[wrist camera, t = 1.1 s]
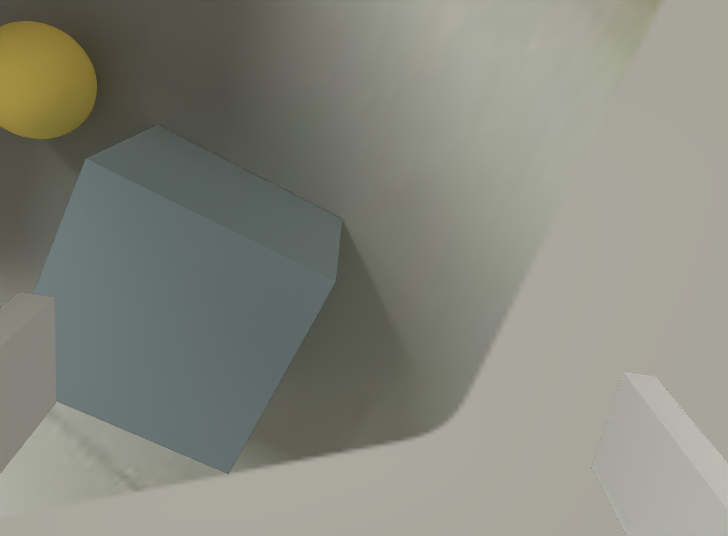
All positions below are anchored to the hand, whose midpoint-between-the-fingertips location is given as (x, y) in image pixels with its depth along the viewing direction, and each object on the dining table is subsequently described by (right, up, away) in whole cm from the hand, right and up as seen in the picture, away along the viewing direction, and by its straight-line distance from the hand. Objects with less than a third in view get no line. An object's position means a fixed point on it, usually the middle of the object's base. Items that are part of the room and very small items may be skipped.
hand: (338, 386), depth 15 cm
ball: (-14, +11, +14) cm, 22 cm away
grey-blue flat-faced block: (-7, +3, +19) cm, 21 cm away
